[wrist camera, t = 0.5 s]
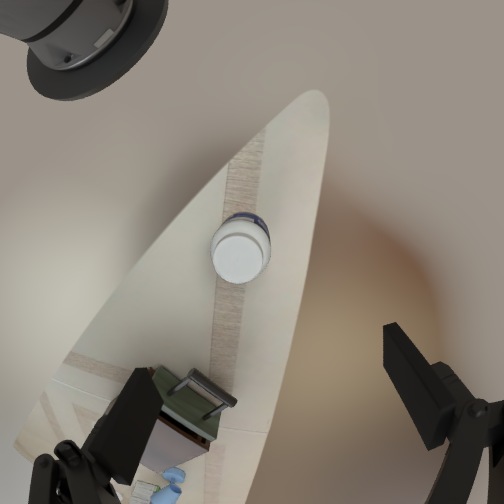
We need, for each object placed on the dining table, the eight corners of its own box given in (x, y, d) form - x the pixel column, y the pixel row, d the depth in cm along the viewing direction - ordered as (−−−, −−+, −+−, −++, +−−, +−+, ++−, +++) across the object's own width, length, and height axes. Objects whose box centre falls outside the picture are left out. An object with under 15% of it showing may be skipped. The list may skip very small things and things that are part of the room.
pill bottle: (271, 256, 33) (274, 289, 24) (224, 260, 33) (209, 294, 24) (266, 208, 32) (268, 223, 22) (217, 213, 32) (199, 230, 23)
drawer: (187, 341, 35) (175, 368, 30) (251, 391, 37) (249, 420, 32) (119, 400, 39) (106, 424, 34) (173, 438, 41) (166, 463, 36)
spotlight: (176, 481, 47) (192, 473, 46) (167, 515, 37) (183, 511, 36) (156, 471, 46) (171, 463, 45) (145, 506, 37) (160, 501, 35)
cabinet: (150, 366, 38) (132, 400, 31) (215, 414, 40) (208, 451, 33) (110, 402, 41) (93, 431, 34) (167, 442, 43) (157, 473, 36)
